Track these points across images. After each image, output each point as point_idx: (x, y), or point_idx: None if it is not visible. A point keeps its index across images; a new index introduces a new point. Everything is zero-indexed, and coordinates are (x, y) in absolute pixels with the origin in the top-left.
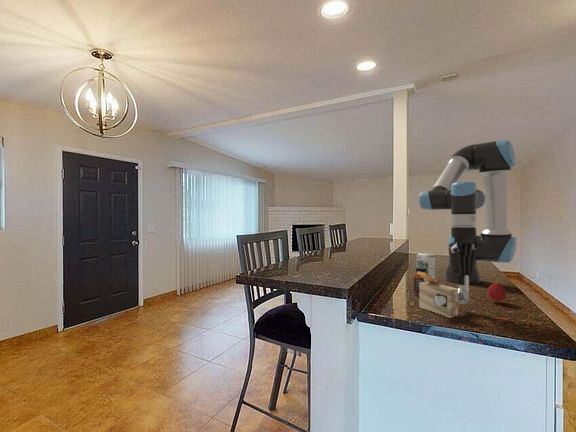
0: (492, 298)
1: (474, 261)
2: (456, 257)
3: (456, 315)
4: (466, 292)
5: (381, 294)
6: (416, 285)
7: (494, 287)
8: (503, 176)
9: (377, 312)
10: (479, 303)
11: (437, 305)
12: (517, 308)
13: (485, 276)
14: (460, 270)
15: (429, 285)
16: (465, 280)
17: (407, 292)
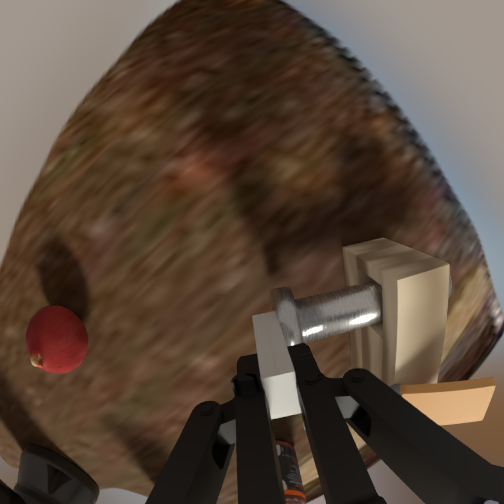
0: (85, 329)
1: (167, 475)
2: (467, 454)
3: (351, 245)
4: (285, 309)
5: (373, 456)
6: (299, 472)
7: (57, 347)
8: None
9: (487, 330)
10: (137, 338)
11: None
12: (54, 247)
13: (5, 453)
14: (377, 386)
15: (439, 366)
16: (288, 357)
17: None
